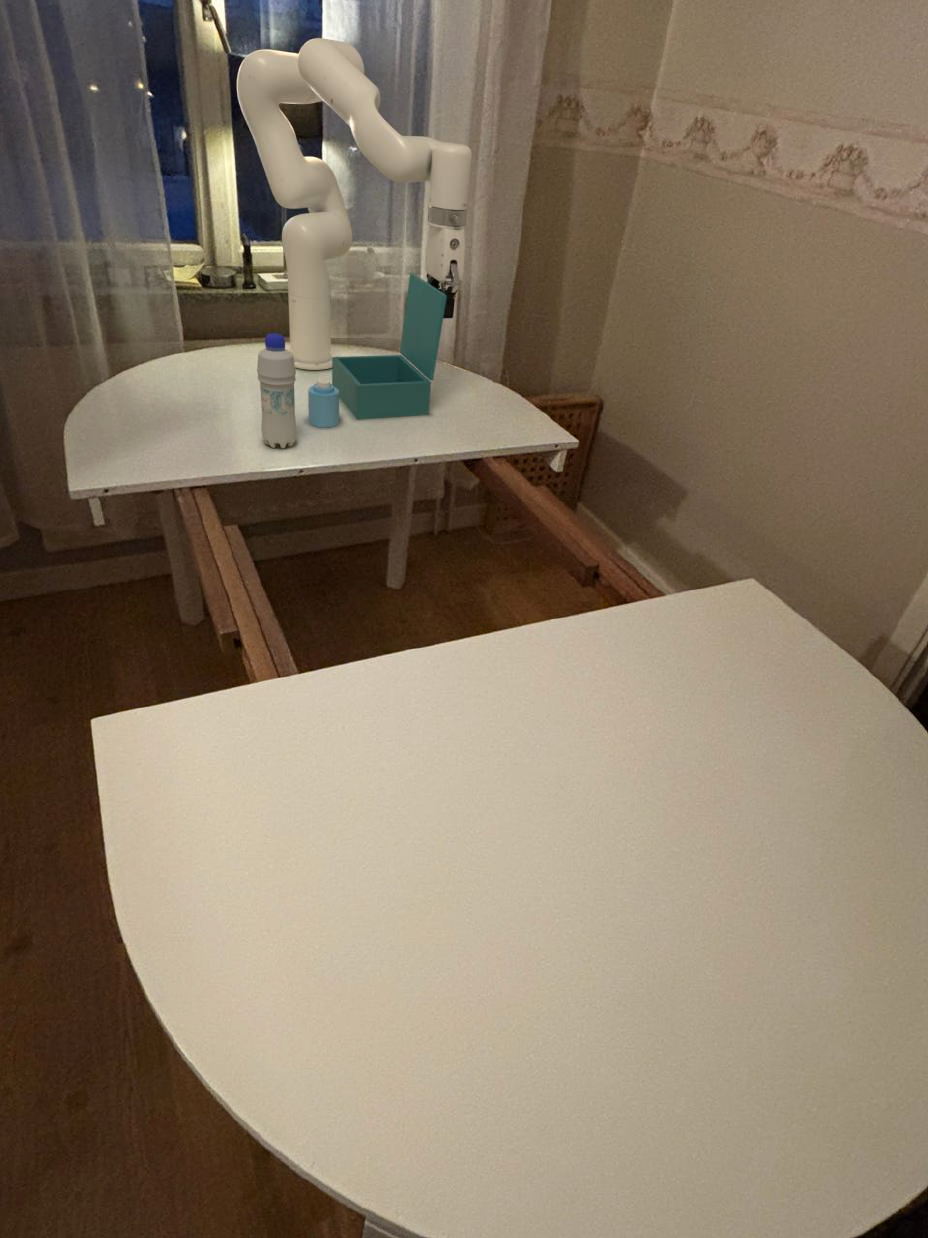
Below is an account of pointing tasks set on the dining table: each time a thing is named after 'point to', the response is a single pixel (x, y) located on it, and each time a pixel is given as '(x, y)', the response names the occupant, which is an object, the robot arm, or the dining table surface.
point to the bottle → (277, 392)
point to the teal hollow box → (381, 386)
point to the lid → (422, 325)
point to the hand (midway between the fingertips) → (439, 312)
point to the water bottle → (323, 404)
